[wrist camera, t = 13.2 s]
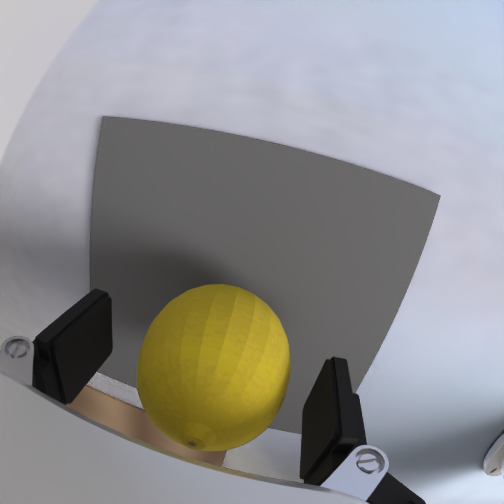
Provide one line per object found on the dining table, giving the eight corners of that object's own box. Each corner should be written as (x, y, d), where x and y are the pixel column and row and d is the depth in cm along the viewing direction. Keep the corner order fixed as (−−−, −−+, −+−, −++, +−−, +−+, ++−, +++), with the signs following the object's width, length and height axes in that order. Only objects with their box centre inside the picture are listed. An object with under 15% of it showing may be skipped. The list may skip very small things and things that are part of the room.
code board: (230, 436, 19) (230, 439, 19) (204, 512, 25) (203, 513, 25) (45, 362, 20) (44, 364, 20) (79, 463, 26) (78, 464, 26)
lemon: (261, 239, 14) (243, 348, 6) (302, 339, 15) (316, 475, 8) (155, 280, 15) (67, 387, 7) (205, 367, 16) (166, 490, 8)
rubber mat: (435, 193, 12) (440, 195, 12) (326, 431, 18) (326, 437, 17) (109, 116, 13) (103, 116, 13) (100, 366, 19) (96, 371, 18)
